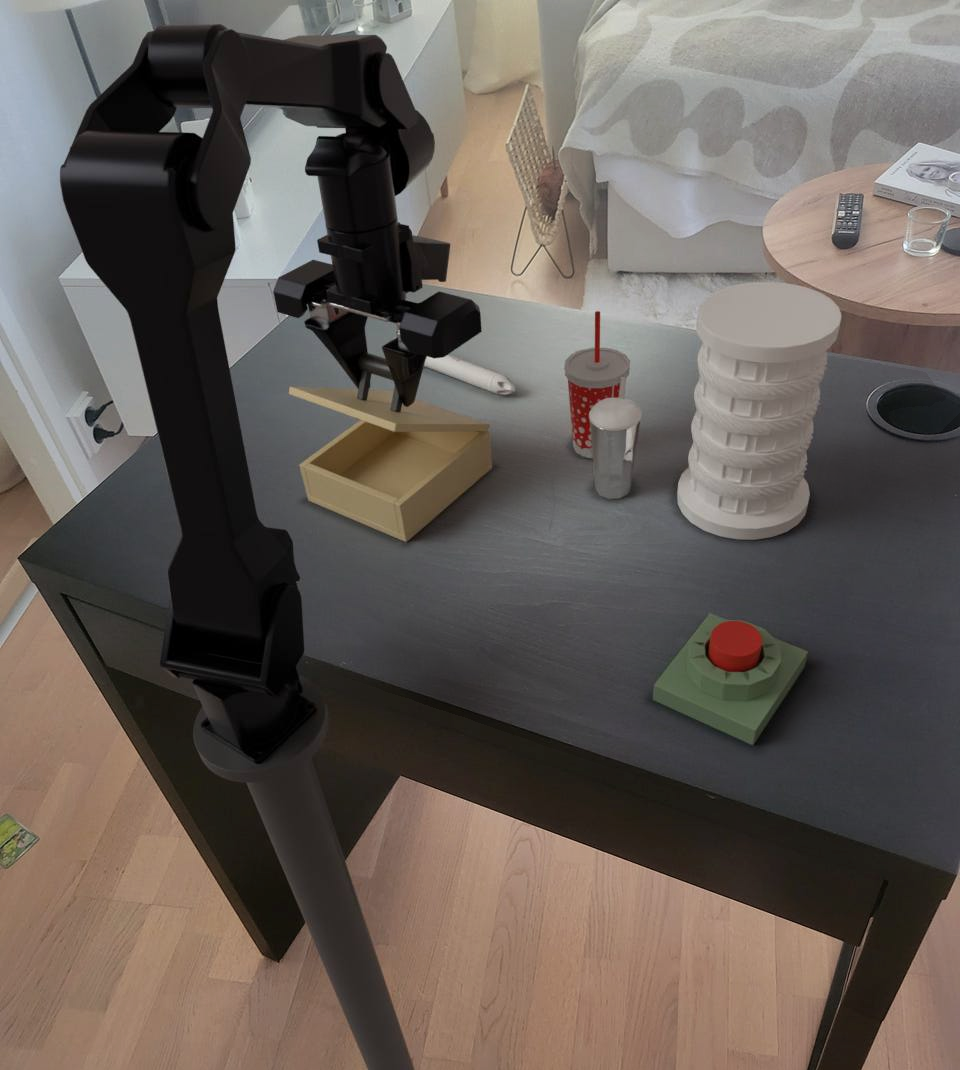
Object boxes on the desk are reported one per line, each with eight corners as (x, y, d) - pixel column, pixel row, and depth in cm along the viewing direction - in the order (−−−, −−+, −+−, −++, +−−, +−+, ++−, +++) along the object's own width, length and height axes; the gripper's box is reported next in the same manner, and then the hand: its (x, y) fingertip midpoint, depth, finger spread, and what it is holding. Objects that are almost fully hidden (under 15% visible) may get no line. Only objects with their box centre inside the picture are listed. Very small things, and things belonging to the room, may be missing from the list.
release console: (753, 745, 67) (759, 713, 64) (652, 700, 71) (654, 667, 68) (804, 666, 72) (812, 634, 69) (708, 627, 75) (712, 595, 73)
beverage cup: (607, 422, 97) (609, 290, 87) (639, 451, 93) (645, 316, 83) (554, 440, 96) (551, 308, 86) (584, 470, 92) (584, 335, 82)
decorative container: (835, 507, 85) (880, 317, 72) (735, 557, 81) (763, 366, 68) (746, 449, 92) (772, 267, 79) (650, 492, 88) (662, 308, 76)
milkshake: (644, 473, 91) (649, 379, 83) (631, 506, 87) (635, 411, 80) (597, 467, 92) (598, 374, 85) (583, 500, 88) (583, 405, 81)
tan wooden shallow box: (406, 542, 86) (399, 505, 83) (308, 500, 92) (298, 464, 89) (492, 467, 93) (489, 431, 90) (396, 433, 99) (390, 397, 96)
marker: (522, 394, 102) (521, 375, 101) (509, 403, 101) (508, 383, 100) (403, 350, 111) (400, 331, 110) (391, 357, 110) (388, 338, 109)
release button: (745, 680, 67) (748, 663, 66) (699, 660, 69) (701, 643, 68) (767, 649, 69) (771, 632, 68) (722, 631, 71) (724, 613, 69)
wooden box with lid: (394, 432, 78) (405, 373, 77) (288, 394, 84) (296, 338, 83) (488, 431, 90) (499, 380, 88) (389, 397, 96) (398, 349, 94)
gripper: (516, 205, 75) (522, 384, 86) (342, 172, 84) (368, 338, 95) (429, 254, 69) (447, 441, 80) (251, 213, 78) (289, 386, 88)
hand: (387, 397), depth 86 cm, fingers closed on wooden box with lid, 5 cm apart
